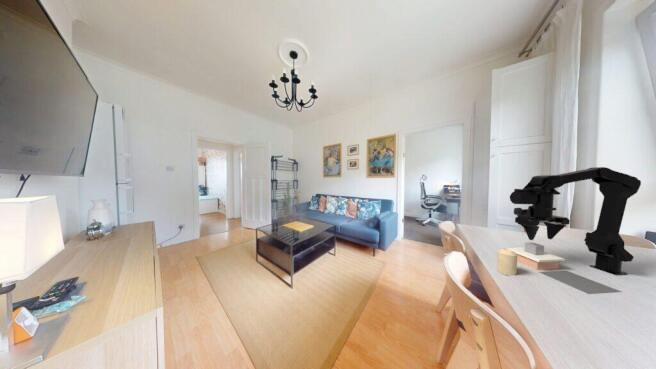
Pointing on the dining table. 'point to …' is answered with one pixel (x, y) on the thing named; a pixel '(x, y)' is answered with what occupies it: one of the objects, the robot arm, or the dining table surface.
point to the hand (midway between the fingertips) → (540, 239)
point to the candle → (507, 262)
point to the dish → (537, 263)
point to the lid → (535, 253)
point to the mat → (579, 282)
